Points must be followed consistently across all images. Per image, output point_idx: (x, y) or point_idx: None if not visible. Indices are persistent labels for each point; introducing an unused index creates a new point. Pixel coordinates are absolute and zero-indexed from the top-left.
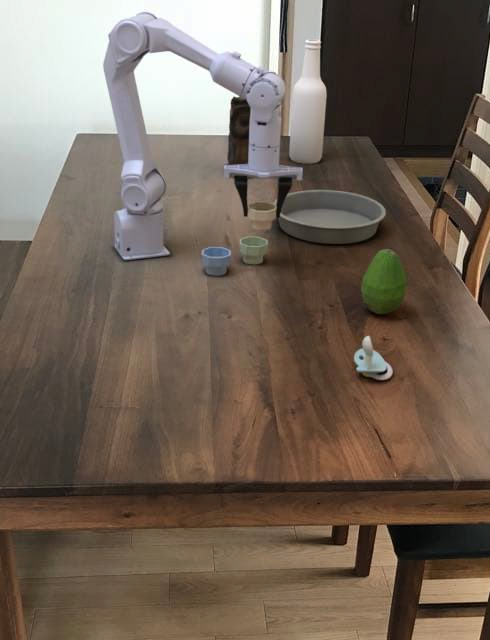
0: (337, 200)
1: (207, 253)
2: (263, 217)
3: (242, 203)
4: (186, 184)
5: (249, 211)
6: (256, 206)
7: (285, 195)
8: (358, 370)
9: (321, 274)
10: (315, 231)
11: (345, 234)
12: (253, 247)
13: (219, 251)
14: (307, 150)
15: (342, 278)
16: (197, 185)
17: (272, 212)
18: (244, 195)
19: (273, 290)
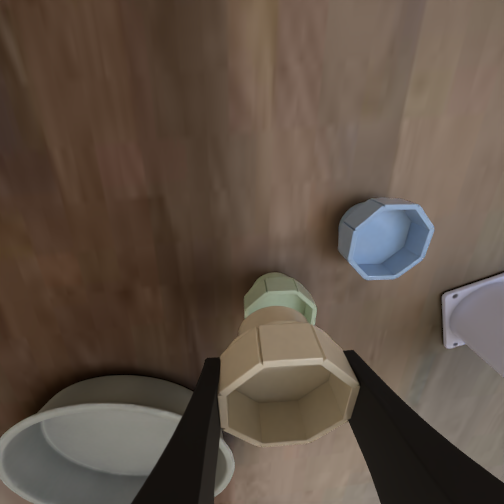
0: (125, 496)
1: (399, 259)
2: (279, 335)
3: (404, 402)
4: (349, 499)
5: (347, 366)
6: (301, 418)
7: (145, 494)
8: None
9: (108, 235)
10: (140, 397)
11: (75, 396)
12: (282, 289)
13: (369, 270)
14: None
15: (48, 216)
16: (335, 499)
17: (237, 367)
18: (436, 457)
19: (224, 116)
